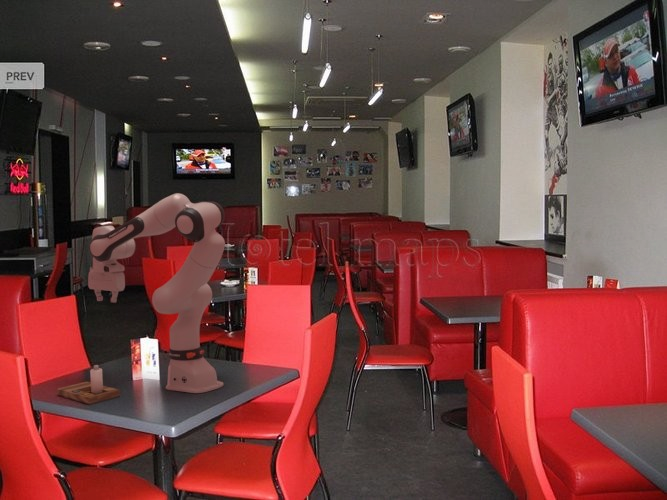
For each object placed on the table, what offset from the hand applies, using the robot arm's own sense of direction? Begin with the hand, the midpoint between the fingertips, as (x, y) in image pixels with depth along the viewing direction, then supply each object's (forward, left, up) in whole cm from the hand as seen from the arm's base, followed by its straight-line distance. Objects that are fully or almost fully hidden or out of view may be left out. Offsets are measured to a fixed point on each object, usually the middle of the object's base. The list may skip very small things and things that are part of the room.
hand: (106, 301), depth 264 cm
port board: (-15, +19, -31) cm, 39 cm away
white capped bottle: (-21, +19, -30) cm, 42 cm away
